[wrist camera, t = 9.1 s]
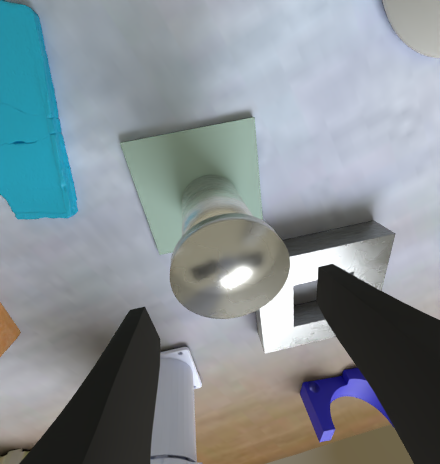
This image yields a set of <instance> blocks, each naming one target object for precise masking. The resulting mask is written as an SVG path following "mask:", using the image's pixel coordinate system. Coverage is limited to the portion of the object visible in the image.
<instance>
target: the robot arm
mask: <svg viewBox="0 0 440 464" xmlns="http://www.w3.org/2000/svg"><path fill="white" fill-rule="evenodd" d="M317 304H318V306H319V308H320V310H321V312H322V314H323V316H324V318H325V320H326V321H327V323H328V325H329V326H330V328H331V329H332V331H333V332H334V334H335V335H336V337H337V338H338V340H339V341H340V343H341V344H342V346H343V347H344V348H345V350H346V351H347V353H348V354H349V356H350V357H351V359H352V360H353V361H354V363H355V364H356V366H357V367H358V369H359V370H360V372H361V373H362V374H363V376H364V377H365V379H366V380H367V382H368V383H369V385H370V387H371V388H372V390H373V391H374V393H375V395H376V396H377V398H378V400H379V402H380V403H381V405H382V407H383V408H384V410H385V412H386V414H387V415H388V417H389V419H390V421H391V422H392V424H393V426H394V428H395V430H396V431H397V433H398V435H399V437H400V439H401V440H402V442H403V444H404V446H405V448H406V450H407V451H408V453H409V455H410V457H411V459H412V461H413V463H414V464H440V320H438V319H436V318H434V317H432V316H430V315H427V314H425V313H423V312H421V311H419V310H417V309H415V308H413V307H411V306H409V305H407V304H405V303H403V302H401V301H399V300H397V299H395V298H393V297H392V296H390V295H388V294H386V293H384V292H382V291H380V290H379V289H377V288H375V287H373V286H371V285H370V284H368V283H366V282H364V281H363V280H361V279H359V278H357V277H355V276H354V275H352V274H350V273H348V272H347V271H345V270H343V269H341V268H340V267H338V266H336V265H334V264H329V265H325V266H320V267H318V283H317ZM201 386H202V382H201V379H200V377H199V374H198V371H197V369H196V366H195V363H194V361H193V358H192V355H191V353H190V350H189V348H188V347H181V348H177V349H172V350H168V351H164V352H160V338H159V336H158V334H157V331H156V329H155V327H154V325H153V323H152V321H151V319H150V316H149V314H148V312H147V310H146V308H145V307H142V308H137V309H133V310H130V311H129V312H128V314H127V315H126V317H125V319H124V320H123V322H122V323H121V325H120V327H119V328H118V330H117V331H116V333H115V335H114V336H113V338H112V339H111V341H110V343H109V344H108V346H107V347H106V349H105V350H104V352H103V354H102V355H101V357H100V358H99V360H98V361H97V363H96V364H95V366H94V367H93V369H92V370H91V372H90V373H89V375H88V376H87V377H86V379H85V380H84V382H83V383H82V385H81V386H80V387H79V389H78V390H77V392H76V393H75V395H74V396H73V397H72V399H71V400H70V401H69V403H68V404H67V405H66V407H65V408H64V409H63V411H62V412H61V413H60V415H59V416H58V417H57V419H56V420H55V421H54V422H53V424H52V425H51V426H50V427H49V429H48V430H47V431H46V432H45V434H44V435H43V436H42V437H41V439H40V440H39V441H38V442H37V443H36V445H35V446H34V447H33V448H32V449H31V450H30V452H29V453H28V454H27V455H26V456H25V457H24V459H23V460H22V461H21V462H20V463H19V464H202V463H197V456H196V430H195V405H194V389H196V388H200V387H201Z"/></svg>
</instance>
